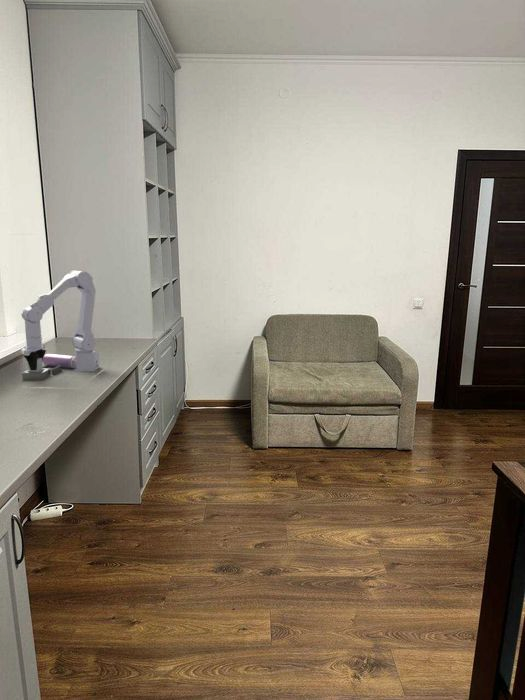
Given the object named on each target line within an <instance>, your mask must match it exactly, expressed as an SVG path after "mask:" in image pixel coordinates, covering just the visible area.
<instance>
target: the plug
mask: <svg viewBox="0 0 525 700" xmlns="http://www.w3.org/2000/svg"><path fill="white" fill-rule="evenodd" d="M27 370H28V371H29V372H38V373H40V372H42V371H43V362H42V358H38V359H37V369H36V370H31V369H30V367H29V364H28V363H27Z"/></svg>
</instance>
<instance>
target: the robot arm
mask: <svg viewBox="0 0 525 700" xmlns="http://www.w3.org/2000/svg"><path fill="white" fill-rule="evenodd" d="M93 279H94V277H93V276H92V275H91V274H90V273H89V272H87V271H81V270H75V269H73V270H70V271H69V272H68V273H67V274H65V275H64V277H63V278H62V279H61V280H60V281H59V282H58V283H57V284H56V285H55V286H54V288H52V289H51V290H50V292H48V293H43V294H39V295H38V298H37V299H35V301H34V302H33V303H30V304H29V306H28V307H25V308H23V311H22V313H21V314H20V315H21V317H22V319H23V320H24V328H25V330H24V331H25V341H26V346H24V347H23V349H24V350H23V351H22V353H23V357H24V358H25V360H26V361H27V365H28V364H29V367H30V369H31V370H36V369H37V359H38V358H42V361H43V357H44V355H46V353H47V350H46V349H45V348H46V343H43V341H42V340H43V339H42V329H41V328H42V327H41V320H42V319H43V315H44V314H45V313H46V312H47V311H49V310H50V309H51V308H52V307H53V306H54V305H55V300H56V299H57V298H59V297H60V296H61V295H62V294H63V293H65V292H66V291H67V290H69V289H70V288H76V289H78V290H79V291H80V293H81V300H80V310H79V319H78V326H77V327H78V328H77V329H76V330H75V331H74V335H73V338H72V339H71V345H72V346H73V347H74V356H75V357H76V368H74V369H73V372H74V371H75V372H95V371H96V370H97V369H99V368H100V358H99V352H98V351H97V350H93V349H94V348H95V344H96V342H95V340H94V339H95V337H94V336H95V334H94V333H93V331H92V326H93V324H92V323H93V318H94V317H93V316H94V307H95V301H96V288H95V285H94V281H93Z"/></svg>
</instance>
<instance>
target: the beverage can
mask: <svg viewBox="0 0 525 700" xmlns="http://www.w3.org/2000/svg"><path fill="white" fill-rule="evenodd" d="M45 365H48V368H55V367H57V366H59V365H61V369H73V370H74V369H76V357H75V355H69V354H68V355H66V354H57V353H56V354H55V353H45V354H44V357H43V361H42V366H45Z"/></svg>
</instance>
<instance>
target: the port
mask: <svg viewBox="0 0 525 700" xmlns="http://www.w3.org/2000/svg"><path fill="white" fill-rule="evenodd" d="M50 370H51V367H48V368H43V371H42V372H40V373H38V372H29V371H28V369H27V370H25V371H23V372H22V373H21V377H22V380H23V381H24V380H26V381H43V380H45V379H47V378H48V377H50V376H52V375H51V373H50Z"/></svg>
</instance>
